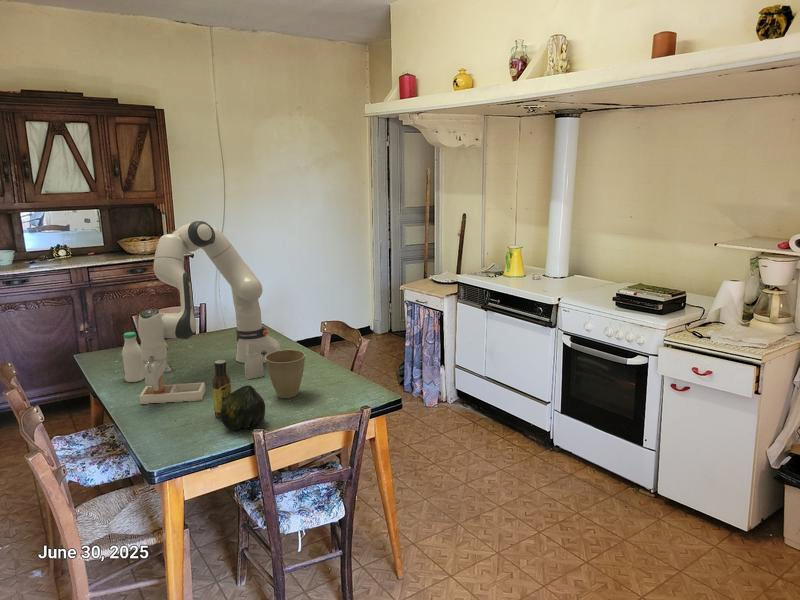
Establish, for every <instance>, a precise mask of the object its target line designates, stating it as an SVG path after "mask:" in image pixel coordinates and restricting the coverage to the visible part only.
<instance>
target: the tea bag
mask: <svg viewBox="0 0 800 600" xmlns="http://www.w3.org/2000/svg"><path fill="white" fill-rule="evenodd" d="M243 366H244V378H246V380H248V379H250V380H253V379H252V378H255V379H258V378H257V377H260V378H263V377H262V376H265V374H264V363H263V362H262V357H261V353H255V354H250V355H245V360H244V363H243Z"/></svg>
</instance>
